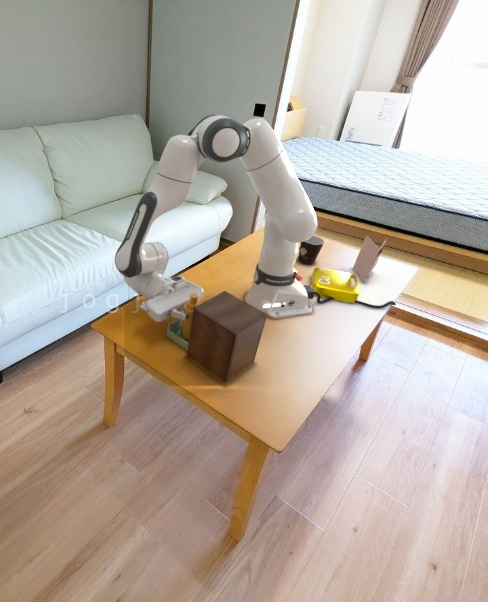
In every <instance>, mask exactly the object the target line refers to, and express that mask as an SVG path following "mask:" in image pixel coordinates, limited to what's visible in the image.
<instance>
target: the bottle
mask: <svg viewBox="0 0 488 602" xmlns="http://www.w3.org/2000/svg"><path fill="white" fill-rule="evenodd" d="M200 304H201V302H200V301H198V295H197V294H195V293H193V294H191V295H190V299H189V300H188V301H187V303H186V304H185V305H184V310H182V313H183V312H186V313H187V314H188V315H189V316H188V319H186V320H185V321H184V320H182V328H181V336H182V338H184V339H186V340H189V338H190V330H191V323H192V316H193V309H194V307H196V306H198V305H200Z"/></svg>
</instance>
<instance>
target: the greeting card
mask: <svg viewBox="0 0 488 602" xmlns="http://www.w3.org/2000/svg"><path fill="white" fill-rule="evenodd" d="M386 241H387V239H385V240H384V242H383V243H382V244H381V246H380V247H379V246H378V245H377V244H376V243H375V242H374V241H373V240H372V239H371V238H370V237H369V236H368V235H365V238H364V240H363V242H362V245H361V247H360V249H359V252H358V254H357V257H356V259H355V262H354V264H353V266H352V270H353V272H354V274H355V275H356V276H357V277H358V278H359V279H360V281H361V282H362V283H363V284H365V283H366V282H367V280H368V279H369V277H370V275H371V274H372V272H373V270H374V268H375V267H376V265H377V263H378V262H379V261H378V260H379V258H380V255H381V253H382V252H383V250H384V248H385V245H386Z"/></svg>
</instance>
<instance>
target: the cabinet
mask: <svg viewBox="0 0 488 602" xmlns="http://www.w3.org/2000/svg"><path fill="white" fill-rule="evenodd" d="M267 317H268V316H267V314H266V313H264V312H262V311H261V310H259V309H257V308H255V307H253V306H252V305H250V304H248V303H246V301H245V300H242V299H241V298H239V297H237V296H236V295H234V294H232V293H229V292H228V291H226V290H223V291H222V292H219V293H218V294H216V295H214V296H212V297H211V298H209V299H207V300H204V302H201V303H200V305H198V306H196V307H194V309H193V316H192V323H191V330H190V338H189V345H188V351H187V352H186V356H188V357H189V358H190V359H192V360H193V361H194V362H196V364H197V363H198V365H200V366H201V367H203V368H204V369H205V370H207V371H208V372H210V374H212V375H213V376H214V377H216V378H217V379H218V380H220V381H221V382H223V383H224V384H223V386H224V387H225V386H226V383H227V382H229V381H230V380H231V379H232V378H234V377H236V376H237V375H238V374H239V373H241V372H242V371H243V370H245V369H246V368H247V367H249V366H250V365H252V364H253V363H254V362H255V359H256V355H257V353H258V348H259V346H260V345H259V344H260V341H261V338H262V334H263V331H264V329H265V325H266V321H267Z"/></svg>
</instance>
